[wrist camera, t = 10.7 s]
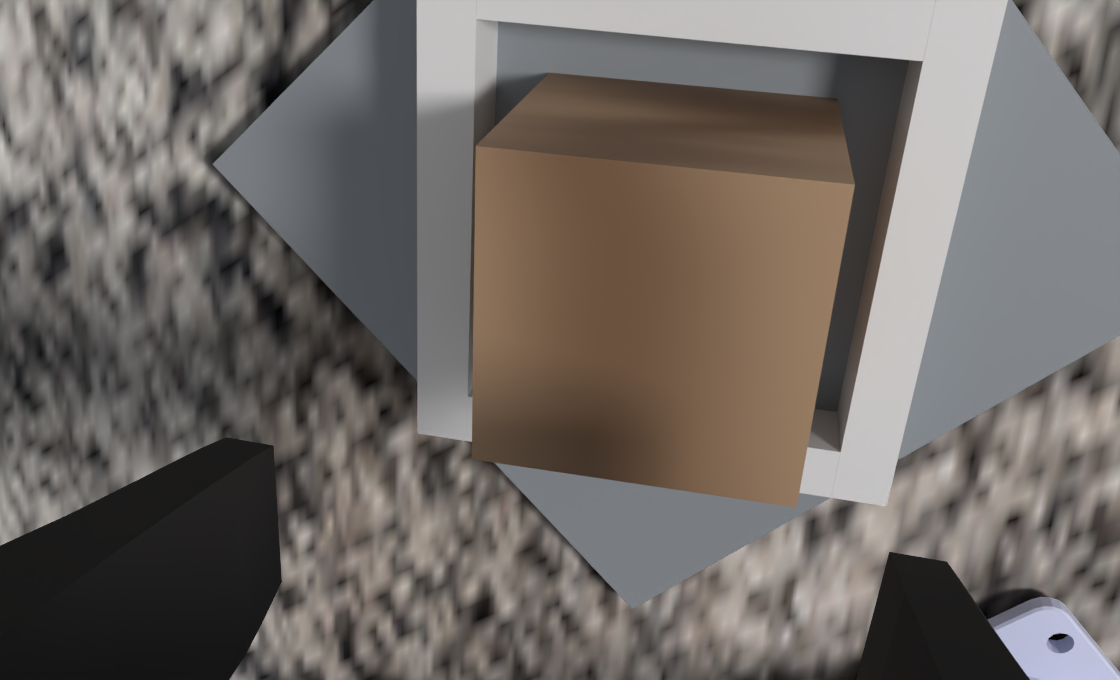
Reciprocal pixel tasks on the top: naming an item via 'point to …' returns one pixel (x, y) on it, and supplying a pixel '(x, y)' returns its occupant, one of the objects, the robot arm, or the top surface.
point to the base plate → (870, 244)
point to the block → (657, 282)
